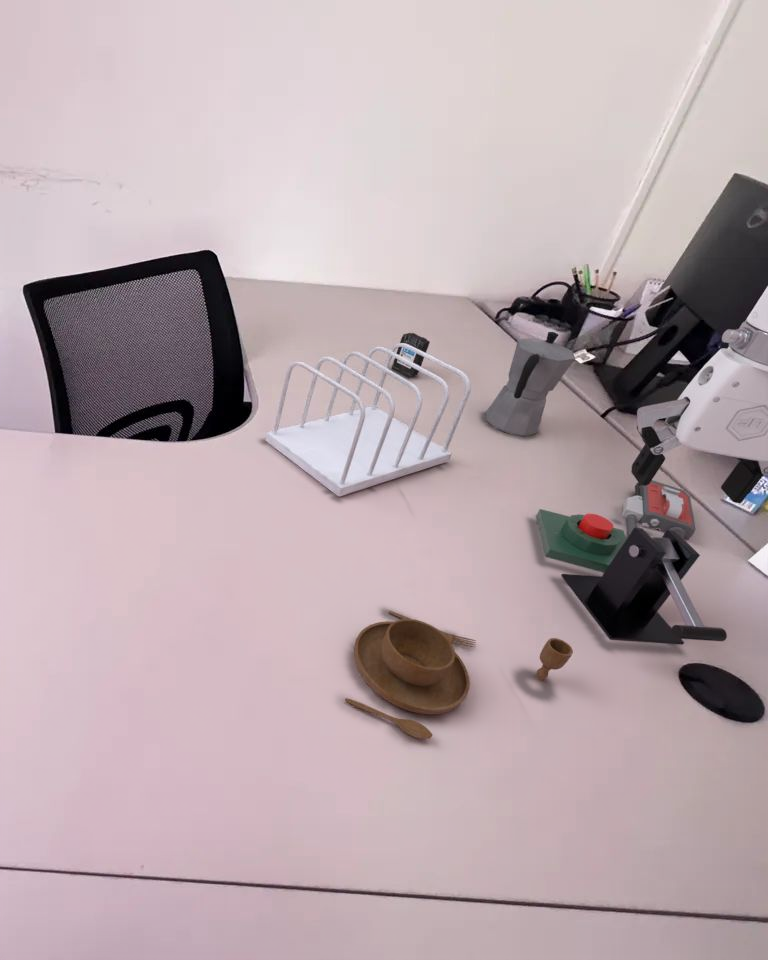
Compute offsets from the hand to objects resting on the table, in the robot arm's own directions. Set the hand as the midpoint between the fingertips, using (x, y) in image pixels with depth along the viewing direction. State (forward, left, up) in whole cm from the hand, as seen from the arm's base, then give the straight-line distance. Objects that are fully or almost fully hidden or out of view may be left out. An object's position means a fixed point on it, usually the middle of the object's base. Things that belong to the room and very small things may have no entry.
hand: (683, 487), depth 77 cm
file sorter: (+34, -21, -17) cm, 43 cm away
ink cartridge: (+27, -59, -17) cm, 67 cm away
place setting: (+21, +25, -17) cm, 37 cm away
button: (+2, -9, -14) cm, 16 cm away
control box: (+2, -9, -17) cm, 19 cm away
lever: (-1, +7, -10) cm, 12 cm away
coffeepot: (+8, -45, -17) cm, 48 cm away
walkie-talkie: (-10, -21, -17) cm, 29 cm away
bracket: (0, +3, -17) cm, 18 cm away
